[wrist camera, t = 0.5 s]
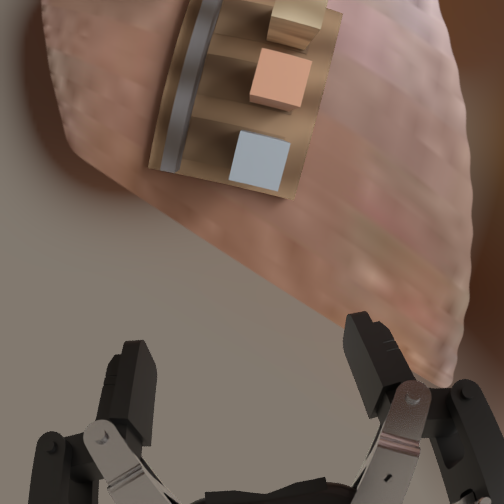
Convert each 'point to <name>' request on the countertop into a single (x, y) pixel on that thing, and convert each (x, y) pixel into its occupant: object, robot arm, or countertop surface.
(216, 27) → the wooden board with bar
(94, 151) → the countertop surface
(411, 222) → the countertop surface
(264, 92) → the salmon orange block
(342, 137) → the countertop surface
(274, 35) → the maple key
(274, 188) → the slate key
